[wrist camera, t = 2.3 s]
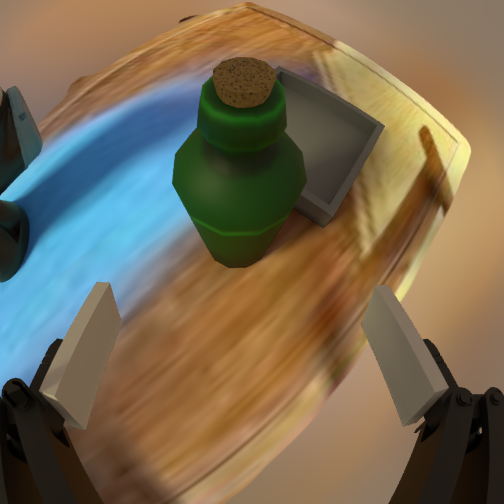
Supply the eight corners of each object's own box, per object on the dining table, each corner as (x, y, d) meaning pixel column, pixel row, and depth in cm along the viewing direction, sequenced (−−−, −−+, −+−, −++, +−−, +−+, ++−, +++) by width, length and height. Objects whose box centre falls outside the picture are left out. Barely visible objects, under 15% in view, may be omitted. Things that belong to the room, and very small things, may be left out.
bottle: (261, 196, 41) (297, 25, 14) (285, 264, 38) (383, 136, 11) (190, 215, 39) (137, 48, 12) (210, 286, 37) (151, 184, 10)
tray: (202, 151, 42) (199, 134, 38) (276, 82, 48) (279, 66, 44) (323, 228, 40) (332, 216, 36) (375, 139, 46) (384, 125, 41)
